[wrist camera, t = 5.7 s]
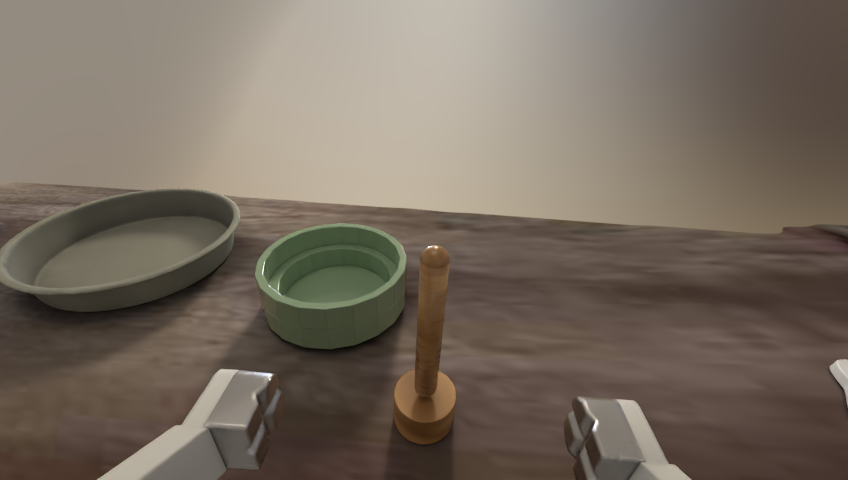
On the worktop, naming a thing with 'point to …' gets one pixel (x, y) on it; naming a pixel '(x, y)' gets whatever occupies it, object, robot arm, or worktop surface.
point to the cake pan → (121, 249)
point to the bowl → (332, 285)
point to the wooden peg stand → (427, 360)
